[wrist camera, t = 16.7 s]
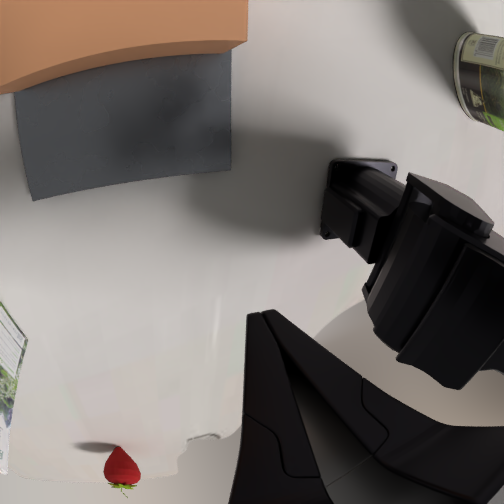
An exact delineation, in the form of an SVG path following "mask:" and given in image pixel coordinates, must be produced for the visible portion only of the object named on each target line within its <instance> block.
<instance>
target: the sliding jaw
mask: <svg viewBox="0 0 504 504" xmlns="http://www.w3.org/2000/svg"><path fill="white" fill-rule="evenodd" d="M247 28H248V0H0V94H5V93H11V92H17V91H21V90H23V89H26V88H29V87H31V86H34V85H37V84H40V83H43V82H46V81H49V80H52V79H55V78H58V77H61V76H65V75H68V74H72V73H76V72H80V71H83V70H88V69H92V68H96V67H101V66H105V65H110V64H115V63H121V62H127V61H133V60H140V59H147V58H155V57H164V56H175V55H189V54H217V53H225V52H227V51H229V50H231V49H232V48H234V47H236V46H238V45H240V44H242V43H244V42H246V41H247Z"/></svg>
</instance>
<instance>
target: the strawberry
mask: <svg viewBox="0 0 504 504" xmlns="http://www.w3.org/2000/svg"><path fill="white" fill-rule="evenodd" d="M104 475H105V478H106V479H107V480H108V481H109V482H111V483H108V484H110V485H113V487H114V488H121V491H122V487H123V488H125V489H133V488H131V487H135V486H137V485H132V484H135V483H137V482H138V481H139V480H140V475H141V473H140V471H139V468H138V466H137V464H136V463H135V462H134V461H133V460H132V458H131V457H130V456H129V455H128V454H127V453H126V452H125V451H124V450H123V449H122V448H121V447H116V448H115V449H114V451H113V452H112V453H111V455H110V456H109V458H108V459H107V461H106V463H105V467H104ZM112 483H114V484H112ZM123 494H124V493H123Z"/></svg>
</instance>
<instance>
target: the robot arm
mask: <svg viewBox="0 0 504 504" xmlns="http://www.w3.org/2000/svg"><path fill="white" fill-rule="evenodd" d="M337 164H338V167H337V169H335V166H336V165H337ZM391 167H392V169H391ZM396 173H397V164H396V163H394V162H391V161H372V160H338V159H336V160H333V161H331V163H330V165H329V171H328V179H327V187H326V189H325V193H324V200H323V208H322V215H321V220H322V223H321V229H320V235H321V237H322V238H323V239H325V240H328V239H336V238H340V239H341V240H342V241H343V242H344V243H345V244H346V245H347V246H348V247H349V248H353V249H354V250H355V251H356V252H357V253H358V254H359V255H360V256H361V257H362V258H363V259H364V260H365V261H366V262H367V263H368V264H373V263H375V265H374V267H373V270H372V272H371V274H370V276H369V278H368V280H367V283H365V284H364V286H363V288H362V292H363V295H364V298H365V301H366V303H367V311H368V314H369V316H370V318H371V320H372V322H373V324H374V328H373V331H374V333H375V334H376V336H377V337H378V338H379V339H380V340H381V341H382V342H383V343H384V344H386V345H387V346H388V347H389V348H391V349H392V350H394V351H396V352H398V353H399V354H398V355H397V357H396V360H397V361H398V362H400V363H404V364H408V365H412V366H414V367H416V368H418V369H420V370H422V371H424V372H425V373H427V374H428V375H430V376H431V377H432V378H433V379H435V380H436V381H437V382H439V383H440V384H441V385H442V386H444V387H446V388H451V389H456V390H460V389H462V388H463V387H464V386H465V385H466V384H467V383H468V382H469V381H470V380H471V378H472V377H473V376H474V375H475V374H476V373H477V372H478V371H484V370H496V371H498V372H500V373H501V374H503V375H504V238H503V237H502V236H501V235H499V234H498V233H496V232H495V231H493V230H492V228H493V226H494V222H493V221H492V219H491V218H490V217H489V216H488V215H487V214H486V213H485V212H484V211H483V210H482V209H481V207H480V206H479V205H478V204H477V203H476V202H475V201H474V200H473V199H471V198H470V197H468V196H466V195H465V194H463V193H461V192H459V191H458V190H456V189H454V188H452V187H450V186H448V185H446V184H443V183H440V182H438V181H435V180H432V179H429V178H425V177H422V176H419V175H416V174H413V173H408V176H407V179H406V181H407V184H406V185H404V184H402V183H401V182H399V181H397V180H395V178H396ZM326 232H328V233H327V234H325V233H326ZM228 504H504V426H500V427H499V426H497V427H496V426H495V427H472V426H471V427H470V426H451V425H446V424H443V423H440V422H438V421H435V420H433V419H431V418H429V417H427V416H426V415H424V414H422V413H420V412H418V411H416V410H414V409H413V408H411V407H409V406H407V405H405V404H403V403H402V402H400V401H398V400H397V399H395V398H393V397H391V396H390V395H388V394H387V393H385V392H384V391H382V390H381V389H379V388H378V387H376V386H375V385H374V384H372V383H371V382H370V381H368V380H367V379H365V378H362V376H361V375H360V374H359V373H357V372H356V371H354V370H353V369H352V368H350V367H349V366H348V365H346V364H345V363H344V362H342V361H341V360H340V359H338V358H337V357H336V356H335V355H333V354H332V353H330V352H329V351H328V350H327V349H325V348H324V347H323V346H321V345H320V344H319V343H317V342H316V341H315V340H314V339H312V338H311V337H310V336H308V335H307V334H306V333H305V332H303V331H302V330H301V329H299V328H298V327H297V326H296V325H294V324H293V323H292V322H290V321H289V320H288V319H287V318H285V317H284V316H283V315H281V314H280V313H279V312H278V311H276V310H274V309H271V310H266V311H262V312H261V313H260V312H255V313H250V314H247V317H246V340H245V363H244V386H243V409H242V429H241V441H240V449H239V455H238V461H237V466H236V470H235V475H234V480H233V485H232V489H231V493H230V498H229V502H228Z"/></svg>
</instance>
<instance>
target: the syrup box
mask: <svg viewBox="0 0 504 504" xmlns="http://www.w3.org/2000/svg"><path fill="white" fill-rule="evenodd" d="M27 343H28V339H27V338H26V337H25V335H24V334H23V333H22V332H21V330H20V329H19V328H18V326H17V325H16V324H15V322H14V321H13V319H12V318H11V317H10V315H9V314H8V312H7V311H6V309H5V308H4V306H3V305H2V303H1V302H0V474H6V475H7V472H8V450H9V437H10V427H11V419H12V412H13V405H14V400H15V394H16V388H17V383H18V379H19V374H20V370H21V366H22V361H23V357H24V353H25V350H26V346H27Z"/></svg>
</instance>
